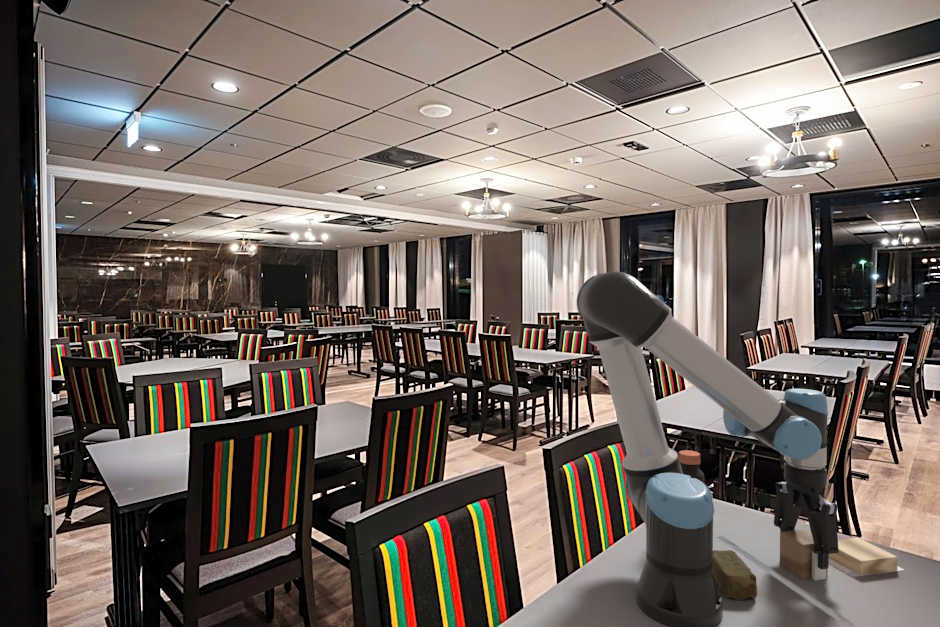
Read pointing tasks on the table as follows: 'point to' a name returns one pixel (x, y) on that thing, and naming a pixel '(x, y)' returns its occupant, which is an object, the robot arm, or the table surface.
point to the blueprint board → (851, 570)
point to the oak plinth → (864, 557)
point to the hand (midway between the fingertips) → (803, 572)
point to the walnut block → (797, 552)
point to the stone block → (733, 575)
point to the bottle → (691, 464)
